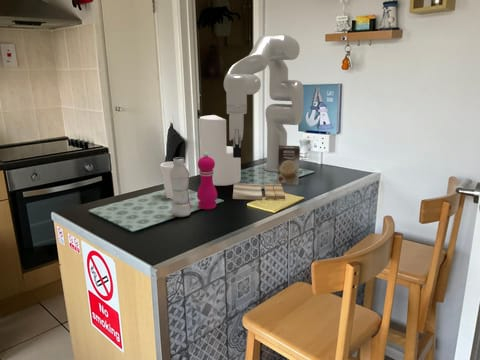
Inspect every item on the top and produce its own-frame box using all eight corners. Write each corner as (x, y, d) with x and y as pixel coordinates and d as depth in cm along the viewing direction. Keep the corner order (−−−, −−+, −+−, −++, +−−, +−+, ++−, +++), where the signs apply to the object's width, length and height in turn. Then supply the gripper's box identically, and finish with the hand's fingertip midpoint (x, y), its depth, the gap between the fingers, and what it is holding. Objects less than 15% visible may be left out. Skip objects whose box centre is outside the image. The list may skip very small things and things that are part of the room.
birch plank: (233, 186, 167) (234, 183, 166) (260, 187, 167) (260, 184, 166) (232, 198, 151) (232, 194, 151) (261, 199, 151) (262, 196, 151)
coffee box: (277, 185, 171) (277, 148, 166) (277, 181, 177) (277, 145, 173) (298, 185, 170) (300, 148, 166) (298, 181, 176) (299, 145, 172)
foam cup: (190, 197, 155) (189, 165, 152) (167, 201, 151) (165, 168, 147) (180, 191, 163) (179, 160, 159) (159, 195, 158) (157, 163, 155)
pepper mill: (202, 211, 140) (200, 155, 135) (194, 205, 147) (192, 151, 141) (220, 208, 144) (219, 153, 138) (212, 202, 150) (211, 149, 144)
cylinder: (207, 187, 168) (205, 120, 161) (197, 177, 184) (195, 115, 176) (246, 183, 174) (246, 118, 166) (233, 173, 189) (233, 114, 182)
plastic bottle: (183, 220, 132) (180, 161, 127) (167, 216, 136) (164, 159, 130) (195, 214, 137) (193, 157, 132) (180, 211, 141) (177, 155, 135)
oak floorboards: (263, 188, 167) (264, 184, 166) (281, 188, 167) (281, 184, 166) (265, 200, 152) (265, 196, 151) (284, 200, 151) (285, 196, 151)
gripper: (227, 107, 158) (228, 153, 163) (225, 111, 143) (226, 161, 148) (246, 107, 157) (246, 153, 163) (246, 111, 143) (247, 161, 148)
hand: (237, 157), depth 155 cm, fingers closed
